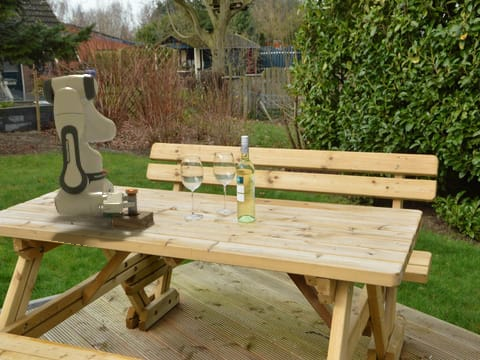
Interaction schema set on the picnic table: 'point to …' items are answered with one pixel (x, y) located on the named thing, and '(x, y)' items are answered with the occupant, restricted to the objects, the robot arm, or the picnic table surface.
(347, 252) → the picnic table surface
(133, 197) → the pin
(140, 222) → the block
